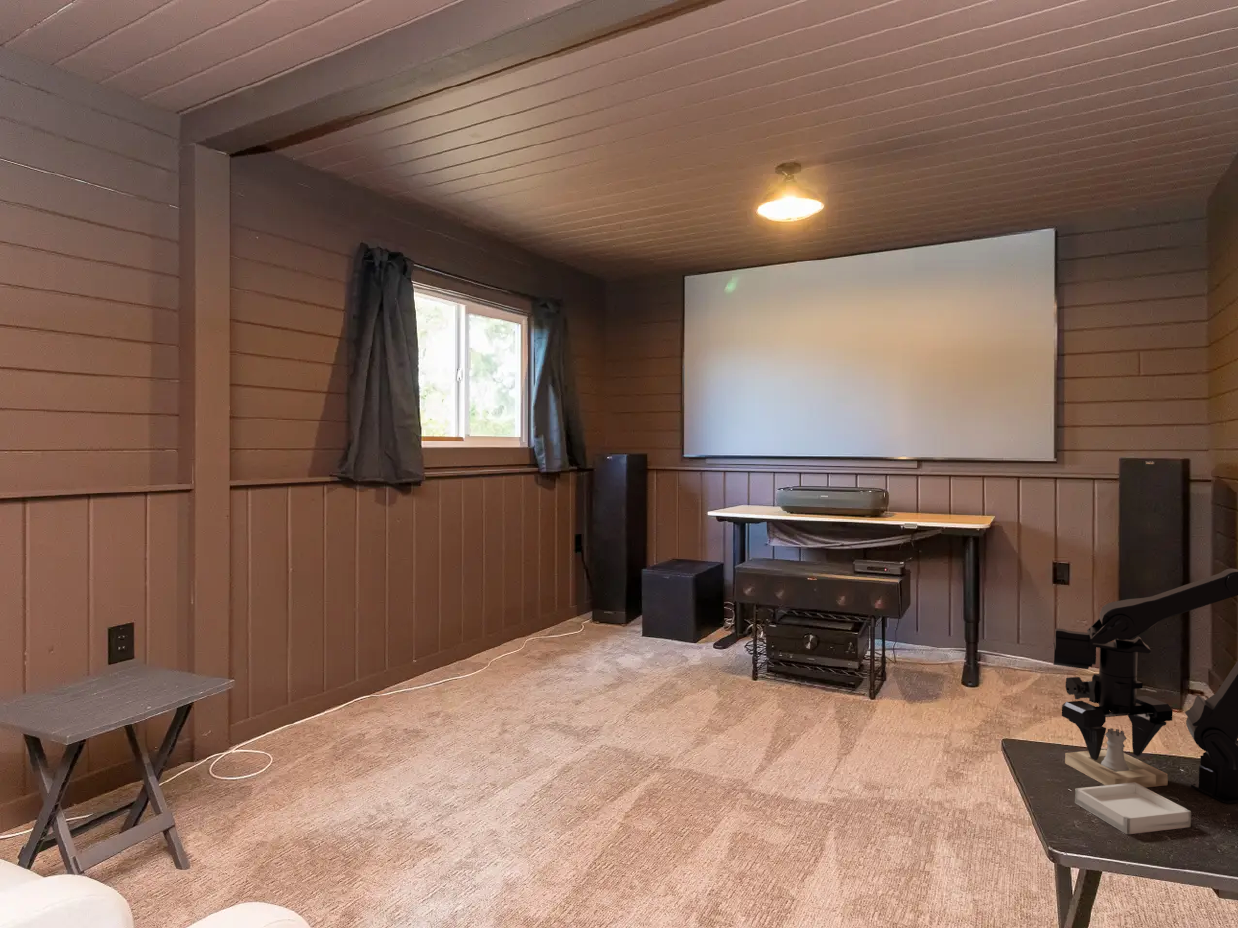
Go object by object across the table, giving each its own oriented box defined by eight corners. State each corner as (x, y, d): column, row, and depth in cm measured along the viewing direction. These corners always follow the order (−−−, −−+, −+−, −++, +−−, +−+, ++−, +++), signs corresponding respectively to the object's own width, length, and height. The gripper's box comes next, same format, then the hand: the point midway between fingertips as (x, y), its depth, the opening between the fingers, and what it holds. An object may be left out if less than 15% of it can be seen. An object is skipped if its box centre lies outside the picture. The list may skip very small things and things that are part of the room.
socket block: (1114, 758, 141) (1114, 748, 141) (1167, 784, 131) (1167, 773, 131) (1065, 763, 139) (1065, 752, 139) (1114, 790, 128) (1115, 779, 128)
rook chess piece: (1134, 780, 132) (1135, 736, 132) (1106, 778, 133) (1107, 734, 133) (1122, 769, 137) (1123, 727, 136) (1095, 767, 138) (1097, 725, 137)
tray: (1134, 796, 126) (1135, 782, 126) (1190, 826, 117) (1191, 811, 116) (1074, 802, 124) (1075, 788, 124) (1126, 834, 114) (1127, 818, 114)
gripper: (1122, 657, 144) (1120, 735, 145) (1040, 662, 140) (1038, 743, 141) (1176, 675, 133) (1173, 760, 134) (1087, 681, 129) (1085, 768, 130)
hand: (1115, 757), depth 135 cm, fingers open, 9 cm apart
